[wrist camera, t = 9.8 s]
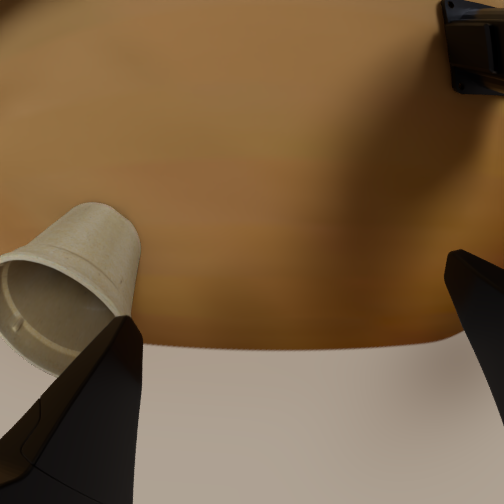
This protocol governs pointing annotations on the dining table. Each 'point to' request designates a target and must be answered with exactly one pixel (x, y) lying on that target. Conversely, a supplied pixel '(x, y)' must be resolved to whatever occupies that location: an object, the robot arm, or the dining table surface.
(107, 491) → the robot arm
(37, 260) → the flower pot
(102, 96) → the dining table surface
